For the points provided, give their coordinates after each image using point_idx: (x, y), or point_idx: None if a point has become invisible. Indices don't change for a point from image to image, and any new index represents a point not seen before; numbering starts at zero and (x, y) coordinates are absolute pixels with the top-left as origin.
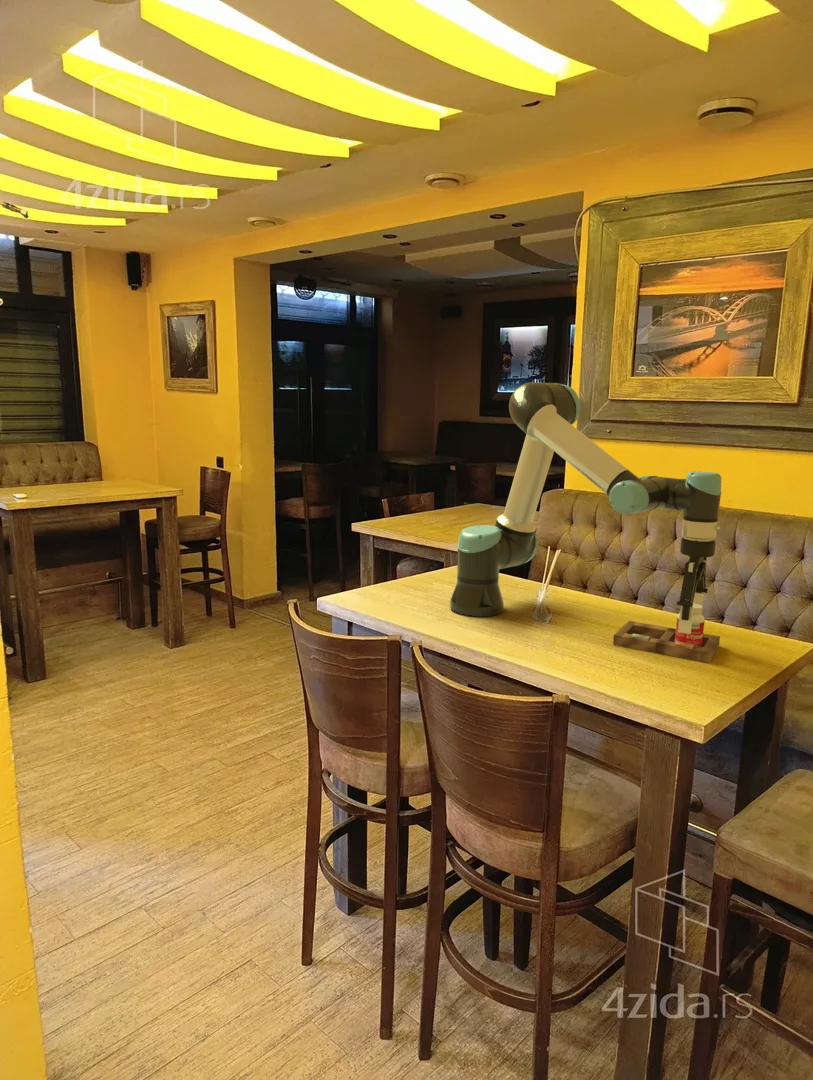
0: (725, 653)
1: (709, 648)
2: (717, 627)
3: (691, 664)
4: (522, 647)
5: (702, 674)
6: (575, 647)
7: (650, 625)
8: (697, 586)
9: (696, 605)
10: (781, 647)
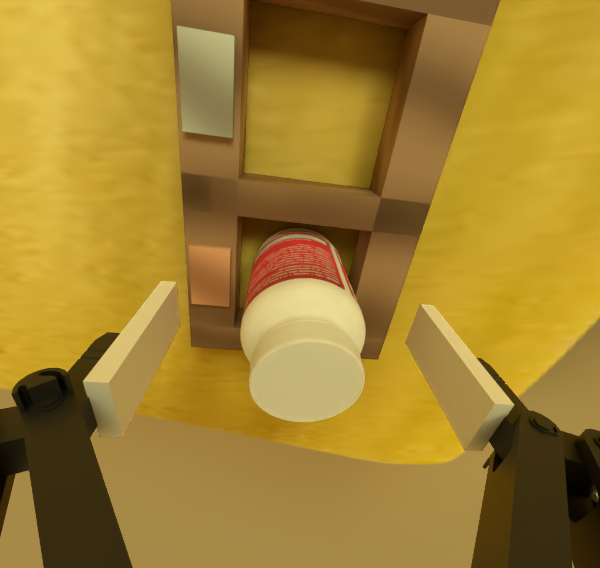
0: None
1: (232, 342)
2: (559, 327)
3: (155, 285)
4: None
5: (90, 315)
6: None
7: (441, 116)
8: (499, 477)
9: (318, 401)
10: (412, 437)
